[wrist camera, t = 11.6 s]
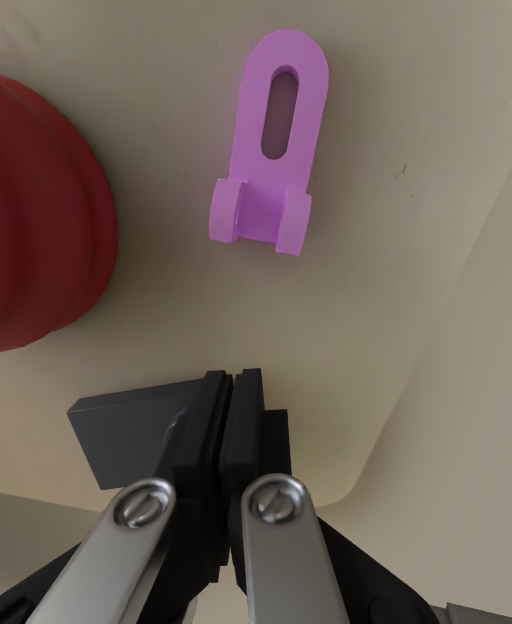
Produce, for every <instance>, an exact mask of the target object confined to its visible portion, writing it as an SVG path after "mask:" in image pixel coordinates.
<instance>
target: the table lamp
mask: <svg viewBox="0 0 512 624" xmlns="http://www.w3.org/2000/svg"><path fill="white" fill-rule="evenodd" d="M116 253H117V220H116V214H115V209H114V203H113V197H112V194H111V191H110V189H109V186H108V183H107V180H106V177H105V175H104V172H103V169H102V168H101V166H100V164H99V162H98V161H97V159H96V157H95V156H94V154H93V152H92V150H91V149H90V147H89V145H88V144H87V142H86V141H85V140H84V139H83V137H82V136H81V135H80V134H79V133H78V131H77V130H76V129H75V128H74V127H73V125H72V124H71V123H70V122H69V121H68V119H67V118H65V117H64V116H63V115H62V114H61V113H60V112H59V111H58V110H57V109H55V108H54V107H53V106H52V105H51V104H50V103H49V102H48V101H46V100H45V99H44V98H43V97H41V96H40V95H38V94H37V93H35V92H33V91H32V90H30V89H28V88H27V87H25V86H24V85H22V84H20V83H19V82H17V81H15V80H12V79H9V78H6V77H4V76H1V75H0V352H3V351H8V350H12V349H16V348H20V347H24V346H26V345H28V344H30V343H32V342H34V341H36V340H38V339H40V338H42V337H44V336H46V335H47V334H48V333H50V332H52V331H56V330H59V329H61V328H63V327H65V326H67V325H69V324H71V323H73V322H75V321H76V320H77V319H78V318H80V317H81V316H82V315H83V314H84V313H86V312H87V311H88V310H89V309H90V308H91V307H92V306H93V305H94V303H95V302H96V301H97V299H98V298H99V297H100V296H101V294H102V293H103V292H104V290H105V288H106V285H107V283H108V281H109V279H110V277H111V275H112V272H113V268H114V263H115V258H116Z"/></svg>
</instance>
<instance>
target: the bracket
mask: <svg viewBox="0 0 512 624" xmlns="http://www.w3.org/2000/svg"><path fill="white" fill-rule="evenodd" d="M283 72H287V73H290V74H292V75H293V76H294V77H295V78H296V80H297V82H298V93H297V99H296V104H295V109H294V115H293V120H292V125H291V131H290V136H289V141H288V147H287V151H286V153H285V154H284V155H283V156H282V157H281V158H279V159H276V160H271V159H268V158H267V157H265V156H264V154H263V153H262V151H261V145H262V139H263V133H264V126H265V120H266V114H267V108H268V102H269V96H270V90H271V84H272V81H273V79H274V78H275V77H276V76H277V75H278V74H280V73H283ZM328 86H329V70H328V64H327V61H326V58H325V55H324V53H323V51H322V50H321V48H320V47H319V45H318V44H317V43H316V42H315V41H314V40H313V39H312V38H311V37H310V36H308V35H307V34H305V33H303V32H300V31H297V30H293V29H282V30H277V31H274V32H272V33H270V34H268V35H266V36H265V37H263V38H262V39H261V40H259V41H258V42H257V44H256V45H255V46H254V47H253V48H252V50H251V52H250V53H249V55H248V57H247V59H246V62H245V65H244V69H243V74H242V81H241V89H240V96H239V103H238V110H237V117H236V125H235V132H234V139H233V146H232V153H231V160H230V168H229V174H228V179H223V178H218V180H217V182H216V185H215V188H214V192H213V197H212V202H211V209H210V217H209V237H210V240H215V241H220V242H225V243H231V244H233V243H234V242H235V241H236V240H237V239H238V237H241V238H247V239H252V240H258V241H263V242H268V243H274V244H276V252H279V253H285V254H290V255H295V256H299V254H300V252H301V249H302V246H303V242H304V238H305V234H306V230H307V225H308V220H309V215H310V209H311V195H308V194H306V190H307V185H308V180H309V176H310V171H311V166H312V162H313V157H314V152H315V148H316V143H317V138H318V134H319V129H320V124H321V119H322V115H323V110H324V105H325V101H326V96H327V91H328Z"/></svg>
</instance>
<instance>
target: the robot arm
mask: <svg viewBox="0 0 512 624" xmlns="http://www.w3.org/2000/svg"><path fill="white" fill-rule="evenodd" d="M230 548H231V554H232V561H233V565H234V567H235V574H236V581H237V585H238V586H239V587H240V588H241V590H242V591H243V592H244V593H245V594H246V596H247V600H248V613H249V614H248V615H249V624H512V618H511V617H507V616H503V615H498V614H494V613H490V612H485V611H482V610H477V609H473V608H469V607H465V606H461V605H456V604H452V603H447V606H446V609H445V608H441V607H436V606H432V605H429V604H428V603H427V602H426V601H425V600H424V599H423V598H422V597H421V596H420V595H419V594H418V593H417V592H416V591H415V590H413V589H412V588H411V587H409V586H408V585H407V584H405V583H404V582H403V581H402V580H400V579H399V578H397V577H396V576H395V575H394V574H392V573H391V572H390V571H388V570H387V569H386V568H384V567H383V566H382V565H381V564H379V563H378V562H377V561H375V560H374V559H373V558H371V557H370V556H369V555H368V554H366V553H365V552H364V551H362V550H361V549H360V548H358V547H357V546H356V545H354V544H353V543H352V542H351V541H349V540H348V539H347V538H345V537H344V536H343V535H341V534H340V533H339V532H337V531H336V530H335V529H334V528H332V527H331V526H330V525H328V524H327V523H326V522H324V521H323V520H322V519H321V518H319V517H318V516H317V515H316V512H315V509H314V505H313V502H312V499H311V496H310V493H309V492H308V490H307V488H306V486H305V485H304V484H303V483H302V482H301V481H300V480H298V479H296V478H294V477H292V472H291V457H290V443H289V428H288V413H287V409H280V410H265V407H264V396H263V385H262V375H261V368H254V369H243V372H242V374H236V378H235V383H234V385H233V378H232V374H228V375H226V372H225V370H218V371H207V372H206V375H205V377H204V380H203V383H202V385H201V388H200V390H199V393H198V396H197V398H196V401H195V404H194V406H193V409H192V412H191V414H181V415H180V416H179V417H178V419H177V422H176V424H175V426H174V429H173V431H172V433H171V436H170V438H169V440H168V443H167V445H166V447H165V450H164V452H163V454H162V457H161V459H160V461H159V464H158V466H157V468H156V471H155V473H154V475H153V478H145V479H141V480H137V481H135V482H133V483H131V484H129V485H127V486H126V487H125V488H123V489H122V490H121V491H119V492H118V493H117V494H116V496H115V497H114V498H113V499H112V500H111V501H110V503H109V504H108V506H107V507H106V509H105V510H104V511H103V513H102V514H101V516H100V517H99V519H98V520H97V521H96V523H95V524H94V526H93V527H92V529H91V530H90V531H89V533H88V534H87V536H86V537H85V539H84V540H83V541H82V542H80V543H79V544H77V545H76V546H75V547H73V548H71V549H70V550H68V551H67V552H65V553H64V554H62V555H61V556H59V557H58V558H56V559H55V560H53V561H52V562H50V563H49V564H47V565H45V566H44V567H42V568H41V569H39V570H38V571H36V572H35V573H34V574H32V575H30V576H29V577H27V578H26V579H24V580H23V581H21V582H20V583H18V584H17V585H15V586H14V587H12V588H11V589H9V590H8V591H6V592H4V593H3V594H2V595H0V624H192V621H193V617H194V615H195V611H196V606H197V595H198V594H199V593H200V592H201V591H202V590H203V589H204V588H205V587H206V586H207V585H208V584H209V583H217V582H218V578H219V571H220V566H227V564H228V559H229V551H230Z"/></svg>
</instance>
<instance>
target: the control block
mask: <svg viewBox="0 0 512 624" xmlns="http://www.w3.org/2000/svg"><path fill="white" fill-rule="evenodd" d="M203 380H204V379H198V380H192V381H186V382H180V383H174V384H167V385H161V386H155V387H149V388H143V389H137V390H131V391H124V392H118V393H112V394H106V395H100V396H94V397H88V398H82V399H79V400H78V401H77V402H76V403H75V404H74V405H73V406H72V407H71V408H70V409H69V410H68V411H67V412H66V414H67V416H68V418H69V420H70V422H71V425H72V427H73V429H74V431H75V434H76V436H77V438H78V440H79V442H80V445H81V447H82V449H83V451H84V454H85V456H86V458H87V460H88V463H89V465H90V467H91V469H92V471H93V474H94V476H95V478H96V480H97V483H98V485H99V487H100V489H101V490H106V489H114V488H122V487H126V486H127V485H129V484H131V483H133V482H135V481H137V480H141V479H145V478H153V475H154V473H155V471H156V468H157V466H158V464H159V461H160V459H161V457H162V454H163V452H164V450H165V447H166V445H167V443H168V440H169V438H170V436H171V433H172V431H173V429H174V426H175V424H176V422H177V419H178V417H179V416H180V415H181V414H191V412H192V409H193V406H194V404H195V401H196V398H197V396H198V393H199V390H200V388H201V385H202V383H203Z"/></svg>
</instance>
